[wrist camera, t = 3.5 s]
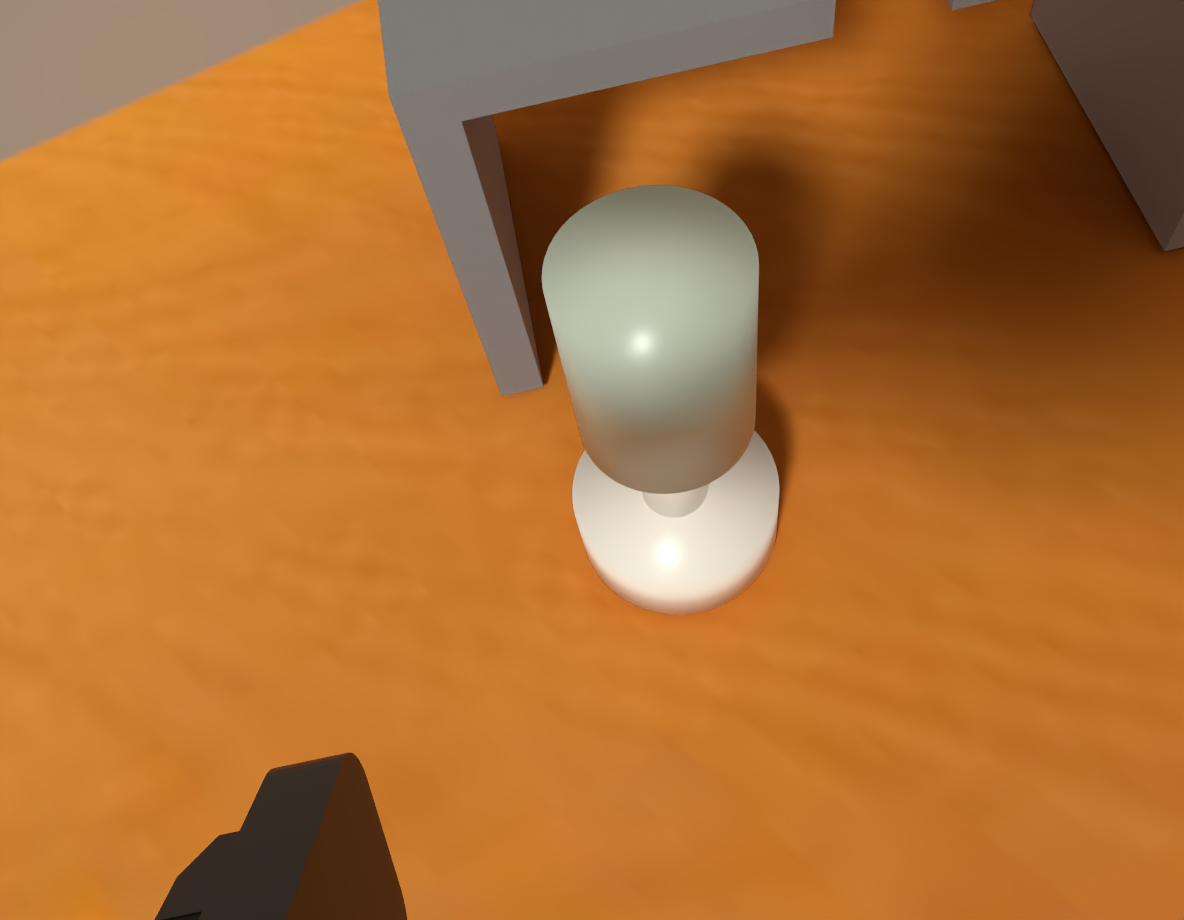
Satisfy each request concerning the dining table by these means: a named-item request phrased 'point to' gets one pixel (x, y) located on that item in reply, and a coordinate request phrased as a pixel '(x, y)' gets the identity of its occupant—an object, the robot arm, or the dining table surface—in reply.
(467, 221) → the slotted rack
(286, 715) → the dining table surface
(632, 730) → the dining table surface
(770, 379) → the dining table surface
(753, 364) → the wine glass
